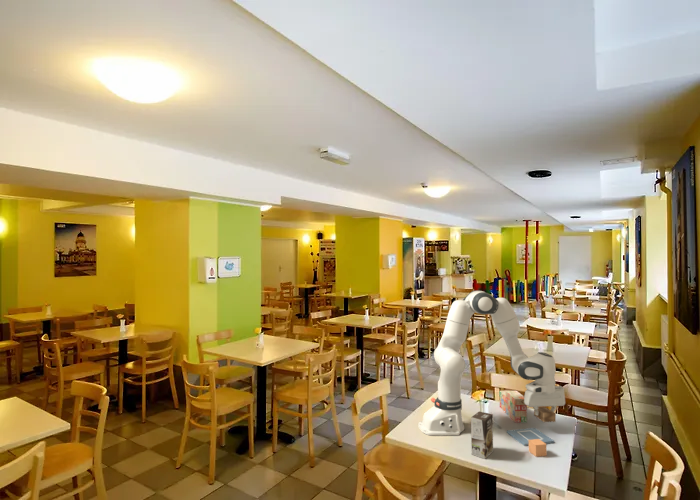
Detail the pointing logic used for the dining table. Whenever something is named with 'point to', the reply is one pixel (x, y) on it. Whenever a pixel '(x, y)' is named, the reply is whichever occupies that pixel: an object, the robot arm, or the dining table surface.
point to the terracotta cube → (537, 447)
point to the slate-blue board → (529, 436)
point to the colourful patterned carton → (513, 405)
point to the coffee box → (482, 434)
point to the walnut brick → (546, 415)
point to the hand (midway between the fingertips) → (544, 414)
